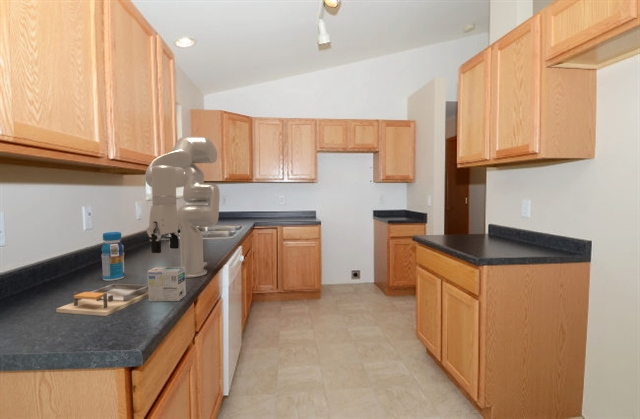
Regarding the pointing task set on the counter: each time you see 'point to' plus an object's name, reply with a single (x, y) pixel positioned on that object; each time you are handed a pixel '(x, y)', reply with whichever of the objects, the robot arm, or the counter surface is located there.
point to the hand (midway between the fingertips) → (165, 250)
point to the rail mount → (107, 300)
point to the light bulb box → (166, 284)
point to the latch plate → (89, 295)
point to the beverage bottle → (112, 257)
